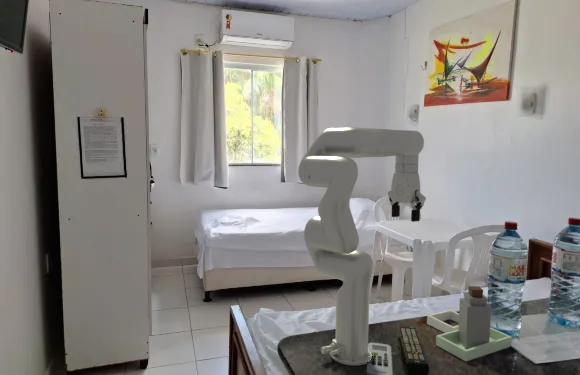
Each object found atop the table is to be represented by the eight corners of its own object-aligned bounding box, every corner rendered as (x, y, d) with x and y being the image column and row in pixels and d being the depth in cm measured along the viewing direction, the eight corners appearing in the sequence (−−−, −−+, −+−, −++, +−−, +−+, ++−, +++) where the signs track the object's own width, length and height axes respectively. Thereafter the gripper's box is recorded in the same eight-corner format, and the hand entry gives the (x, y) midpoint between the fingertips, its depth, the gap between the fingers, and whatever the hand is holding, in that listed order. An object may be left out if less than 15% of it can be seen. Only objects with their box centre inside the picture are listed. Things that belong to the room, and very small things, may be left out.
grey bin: (452, 336, 132) (453, 328, 132) (427, 323, 142) (427, 315, 141) (476, 330, 137) (476, 321, 137) (449, 317, 147) (450, 309, 146)
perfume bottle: (480, 340, 129) (482, 284, 127) (488, 350, 122) (491, 292, 121) (458, 339, 130) (460, 284, 128) (465, 349, 123) (468, 291, 121)
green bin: (465, 361, 117) (466, 351, 116) (435, 344, 127) (436, 335, 126) (511, 346, 126) (511, 336, 125) (480, 331, 136) (480, 323, 135)
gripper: (381, 168, 145) (380, 216, 147) (416, 170, 130) (414, 224, 131) (397, 167, 148) (396, 214, 150) (434, 170, 133) (432, 222, 135)
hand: (405, 218), depth 141 cm, fingers open, 9 cm apart
